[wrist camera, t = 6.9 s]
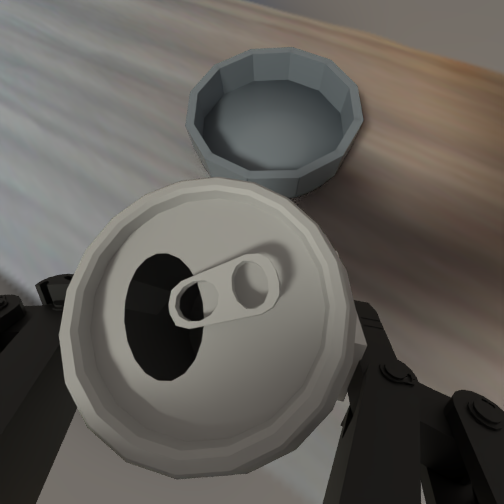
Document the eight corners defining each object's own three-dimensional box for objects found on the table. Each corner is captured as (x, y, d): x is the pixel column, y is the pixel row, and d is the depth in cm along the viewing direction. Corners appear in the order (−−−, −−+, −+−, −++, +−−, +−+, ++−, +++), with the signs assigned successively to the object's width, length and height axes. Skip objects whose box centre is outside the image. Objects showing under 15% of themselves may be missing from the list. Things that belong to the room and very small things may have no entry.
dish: (372, 110, 23) (388, 78, 20) (304, 228, 19) (311, 209, 17) (246, 65, 26) (244, 31, 23) (167, 159, 23) (152, 133, 20)
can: (185, 284, 17) (30, 190, 6) (284, 258, 18) (313, 120, 6) (203, 399, 15) (-6, 604, 4) (318, 367, 15) (471, 469, 4)
